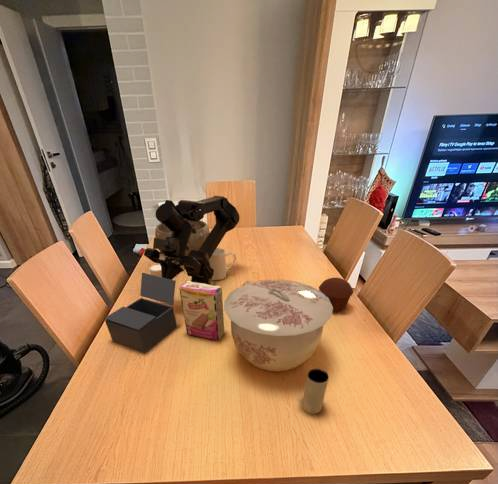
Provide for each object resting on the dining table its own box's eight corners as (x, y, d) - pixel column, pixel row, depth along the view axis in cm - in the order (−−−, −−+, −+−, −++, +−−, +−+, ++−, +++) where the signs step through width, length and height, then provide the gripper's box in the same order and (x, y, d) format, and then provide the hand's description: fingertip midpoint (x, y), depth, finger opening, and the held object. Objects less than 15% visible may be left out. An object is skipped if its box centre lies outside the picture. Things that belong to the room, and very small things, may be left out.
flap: (140, 295, 96) (141, 295, 96) (172, 305, 92) (173, 305, 92) (142, 272, 94) (142, 272, 94) (175, 280, 89) (175, 280, 90)
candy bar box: (186, 335, 94) (178, 287, 83) (193, 326, 97) (186, 279, 87) (219, 342, 91) (214, 293, 80) (225, 333, 94) (222, 285, 84)
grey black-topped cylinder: (300, 400, 73) (305, 369, 66) (318, 398, 73) (325, 367, 67) (304, 414, 70) (310, 383, 63) (323, 413, 70) (331, 382, 63)
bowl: (222, 255, 143) (220, 222, 133) (188, 274, 127) (183, 238, 118) (184, 246, 153) (180, 214, 143) (148, 262, 137) (141, 228, 127)
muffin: (309, 306, 107) (313, 280, 100) (326, 295, 113) (330, 270, 106) (339, 318, 101) (345, 291, 94) (355, 306, 107) (361, 280, 100)
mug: (207, 281, 122) (205, 255, 116) (207, 272, 128) (204, 248, 122) (237, 279, 124) (236, 254, 117) (235, 271, 130) (234, 246, 123)
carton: (146, 317, 102) (140, 295, 96) (177, 327, 97) (172, 304, 92) (112, 341, 91) (103, 318, 86) (145, 353, 87) (138, 329, 82)
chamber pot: (323, 394, 74) (339, 324, 61) (216, 381, 78) (209, 312, 65) (322, 330, 95) (334, 268, 82) (237, 322, 99) (236, 261, 86)
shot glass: (165, 288, 118) (162, 271, 113) (149, 286, 119) (145, 270, 114) (172, 280, 123) (169, 264, 118) (156, 279, 124) (153, 263, 119)
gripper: (140, 221, 91) (123, 269, 91) (190, 229, 85) (173, 281, 84) (162, 239, 102) (147, 282, 101) (208, 248, 95) (192, 294, 95)
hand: (163, 285), depth 95 cm, fingers closed
